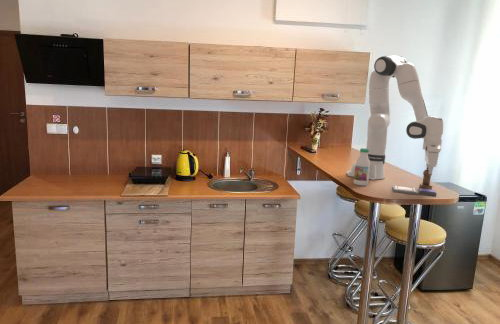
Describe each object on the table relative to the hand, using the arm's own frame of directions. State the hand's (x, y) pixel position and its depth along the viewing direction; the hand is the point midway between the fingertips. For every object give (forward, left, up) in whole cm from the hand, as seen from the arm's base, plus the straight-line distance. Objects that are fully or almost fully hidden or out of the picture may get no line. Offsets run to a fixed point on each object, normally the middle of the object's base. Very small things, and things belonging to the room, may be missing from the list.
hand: (429, 171), depth 213 cm
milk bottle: (-35, -6, -10) cm, 37 cm away
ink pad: (-1, -9, -10) cm, 13 cm away
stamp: (-1, 0, -10) cm, 10 cm away
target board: (-12, -9, -10) cm, 18 cm away
